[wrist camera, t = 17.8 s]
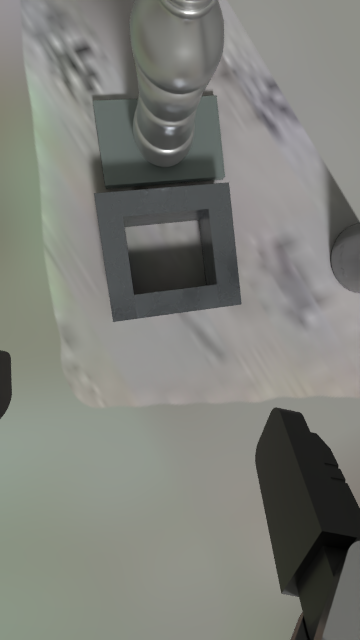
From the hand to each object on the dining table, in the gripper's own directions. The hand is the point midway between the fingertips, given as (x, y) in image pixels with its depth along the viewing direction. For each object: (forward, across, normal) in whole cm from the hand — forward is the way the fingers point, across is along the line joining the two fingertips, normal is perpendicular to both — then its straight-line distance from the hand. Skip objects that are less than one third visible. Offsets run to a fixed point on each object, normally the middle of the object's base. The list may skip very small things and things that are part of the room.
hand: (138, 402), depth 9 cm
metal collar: (+30, +2, +2) cm, 30 cm away
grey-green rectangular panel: (+34, +5, -10) cm, 35 cm away
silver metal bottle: (+33, +5, -10) cm, 34 cm away
